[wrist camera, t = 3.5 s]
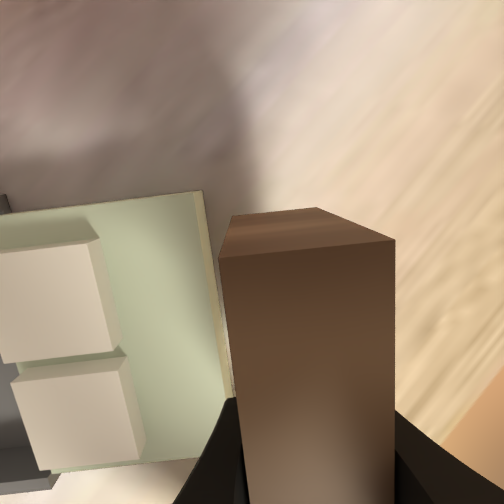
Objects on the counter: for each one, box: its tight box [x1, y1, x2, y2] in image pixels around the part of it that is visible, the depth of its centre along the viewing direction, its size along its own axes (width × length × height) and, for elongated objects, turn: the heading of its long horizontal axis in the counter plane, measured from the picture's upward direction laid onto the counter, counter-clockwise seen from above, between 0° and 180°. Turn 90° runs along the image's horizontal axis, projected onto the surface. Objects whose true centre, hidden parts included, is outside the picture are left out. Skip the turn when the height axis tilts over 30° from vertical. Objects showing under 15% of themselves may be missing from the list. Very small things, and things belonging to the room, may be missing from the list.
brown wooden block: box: [218, 207, 395, 504], centre depth 10 cm, size 12×3×6 cm, turn 6°
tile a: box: [10, 356, 147, 471], centre depth 16 cm, size 5×5×1 cm
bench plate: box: [0, 190, 233, 474], centre depth 17 cm, size 14×10×3 cm
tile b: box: [0, 238, 123, 364], centre depth 14 cm, size 5×5×1 cm
